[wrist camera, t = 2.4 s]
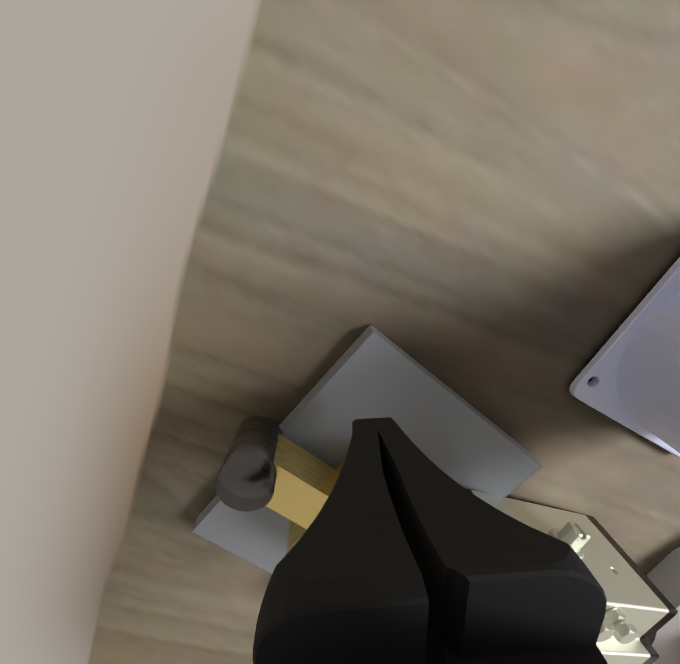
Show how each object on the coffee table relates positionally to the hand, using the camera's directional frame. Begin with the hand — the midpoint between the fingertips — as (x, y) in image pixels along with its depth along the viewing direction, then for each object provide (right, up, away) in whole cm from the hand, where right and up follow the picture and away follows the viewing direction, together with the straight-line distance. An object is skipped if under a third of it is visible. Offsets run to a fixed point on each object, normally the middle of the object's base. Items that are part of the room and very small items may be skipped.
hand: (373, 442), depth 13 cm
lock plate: (0, -4, +6) cm, 7 cm away
